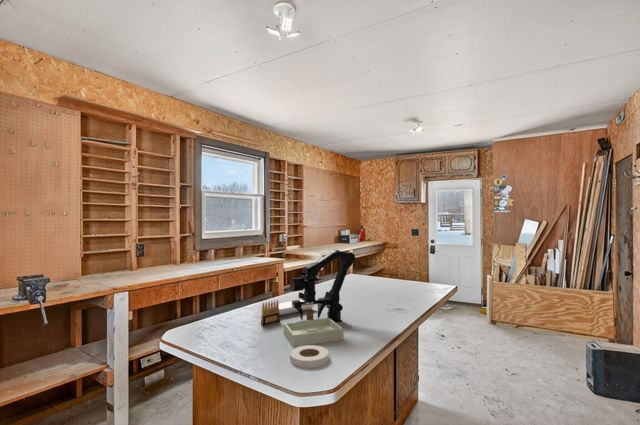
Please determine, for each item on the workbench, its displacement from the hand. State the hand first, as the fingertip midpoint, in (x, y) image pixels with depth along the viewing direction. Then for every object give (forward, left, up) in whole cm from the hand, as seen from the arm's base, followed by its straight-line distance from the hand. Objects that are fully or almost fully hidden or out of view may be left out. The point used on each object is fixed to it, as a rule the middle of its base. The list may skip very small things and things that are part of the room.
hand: (310, 319), depth 169 cm
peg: (0, 0, -3) cm, 3 cm away
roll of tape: (+13, +40, -4) cm, 42 cm away
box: (+4, +17, -3) cm, 17 cm away
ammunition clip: (+19, -10, -3) cm, 22 cm away
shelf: (+4, -26, -4) cm, 27 cm away
